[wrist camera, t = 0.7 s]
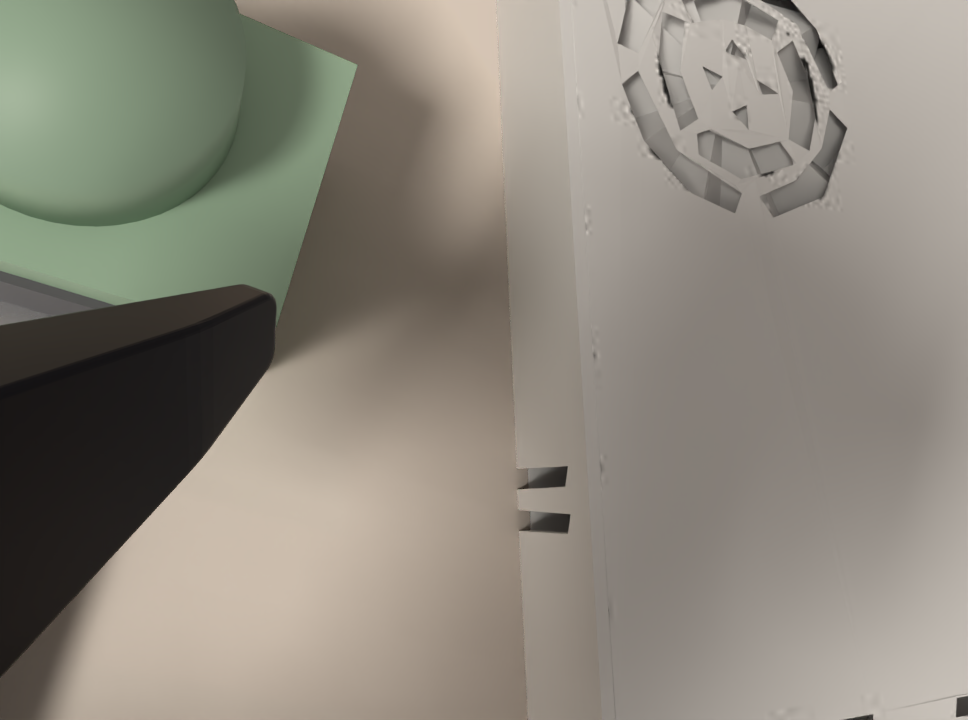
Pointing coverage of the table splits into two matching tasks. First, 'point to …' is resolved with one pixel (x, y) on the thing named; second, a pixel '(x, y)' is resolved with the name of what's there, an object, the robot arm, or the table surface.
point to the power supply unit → (740, 355)
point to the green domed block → (155, 151)
